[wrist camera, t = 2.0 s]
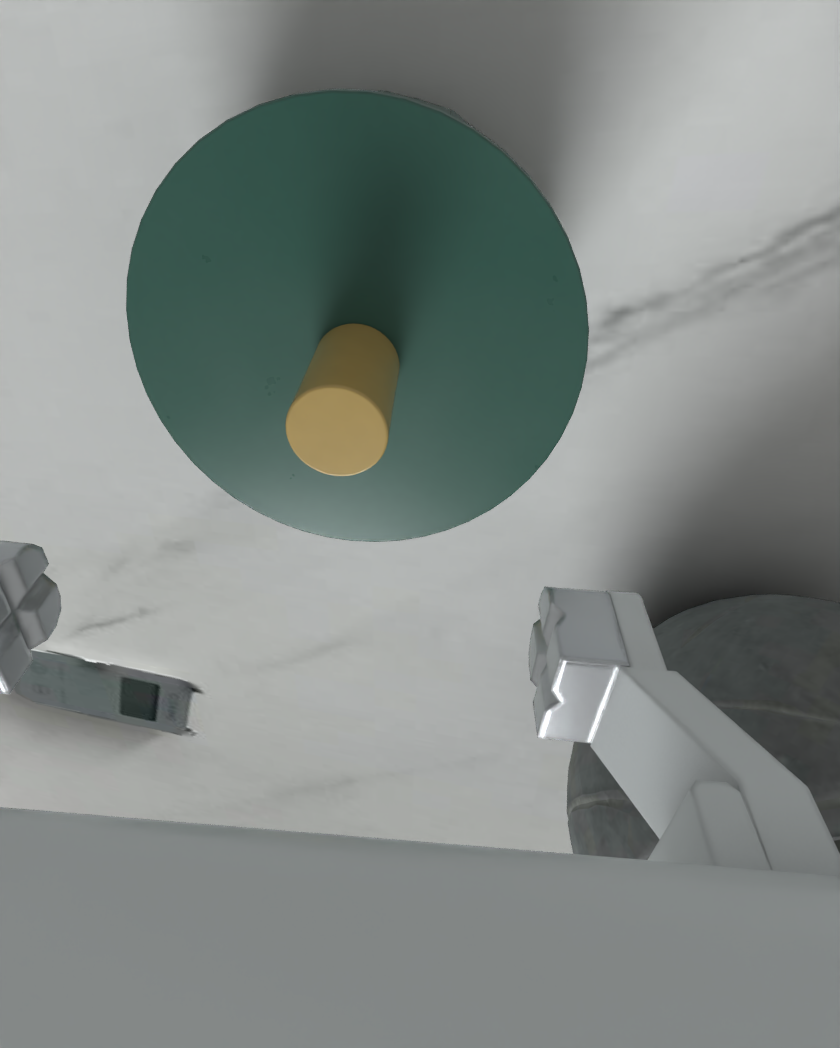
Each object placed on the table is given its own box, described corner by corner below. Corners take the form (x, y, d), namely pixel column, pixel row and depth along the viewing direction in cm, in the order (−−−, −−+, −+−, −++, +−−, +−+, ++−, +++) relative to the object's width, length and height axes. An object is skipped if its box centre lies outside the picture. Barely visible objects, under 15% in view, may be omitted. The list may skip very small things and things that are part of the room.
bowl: (677, 797, 47) (756, 1057, 35) (468, 664, 39) (475, 940, 27) (986, 657, 37) (1245, 953, 25) (787, 440, 29) (1026, 720, 17)
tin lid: (148, 479, 22) (78, 579, 18) (132, 18, 14) (3, 7, 10) (504, 552, 23) (515, 662, 19) (660, 165, 16) (734, 208, 12)
